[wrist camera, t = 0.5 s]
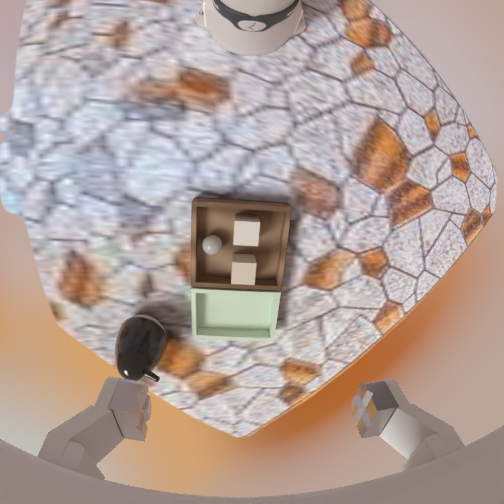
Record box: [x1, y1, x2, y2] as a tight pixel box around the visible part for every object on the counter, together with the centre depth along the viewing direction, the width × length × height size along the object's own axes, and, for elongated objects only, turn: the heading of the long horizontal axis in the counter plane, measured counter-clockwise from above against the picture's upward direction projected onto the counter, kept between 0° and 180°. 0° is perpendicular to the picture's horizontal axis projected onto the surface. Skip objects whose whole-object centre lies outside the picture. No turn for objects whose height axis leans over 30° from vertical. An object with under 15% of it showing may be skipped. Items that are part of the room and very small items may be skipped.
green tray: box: [191, 286, 281, 341], centre depth 55 cm, size 11×16×4 cm
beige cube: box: [231, 253, 257, 285], centre depth 51 cm, size 4×4×4 cm
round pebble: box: [202, 235, 222, 255], centre depth 50 cm, size 3×3×3 cm
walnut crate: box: [191, 198, 292, 290], centre depth 51 cm, size 15×16×4 cm
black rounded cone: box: [115, 315, 168, 382], centre depth 51 cm, size 10×10×15 cm
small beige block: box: [233, 215, 260, 246], centre depth 49 cm, size 4×4×4 cm
